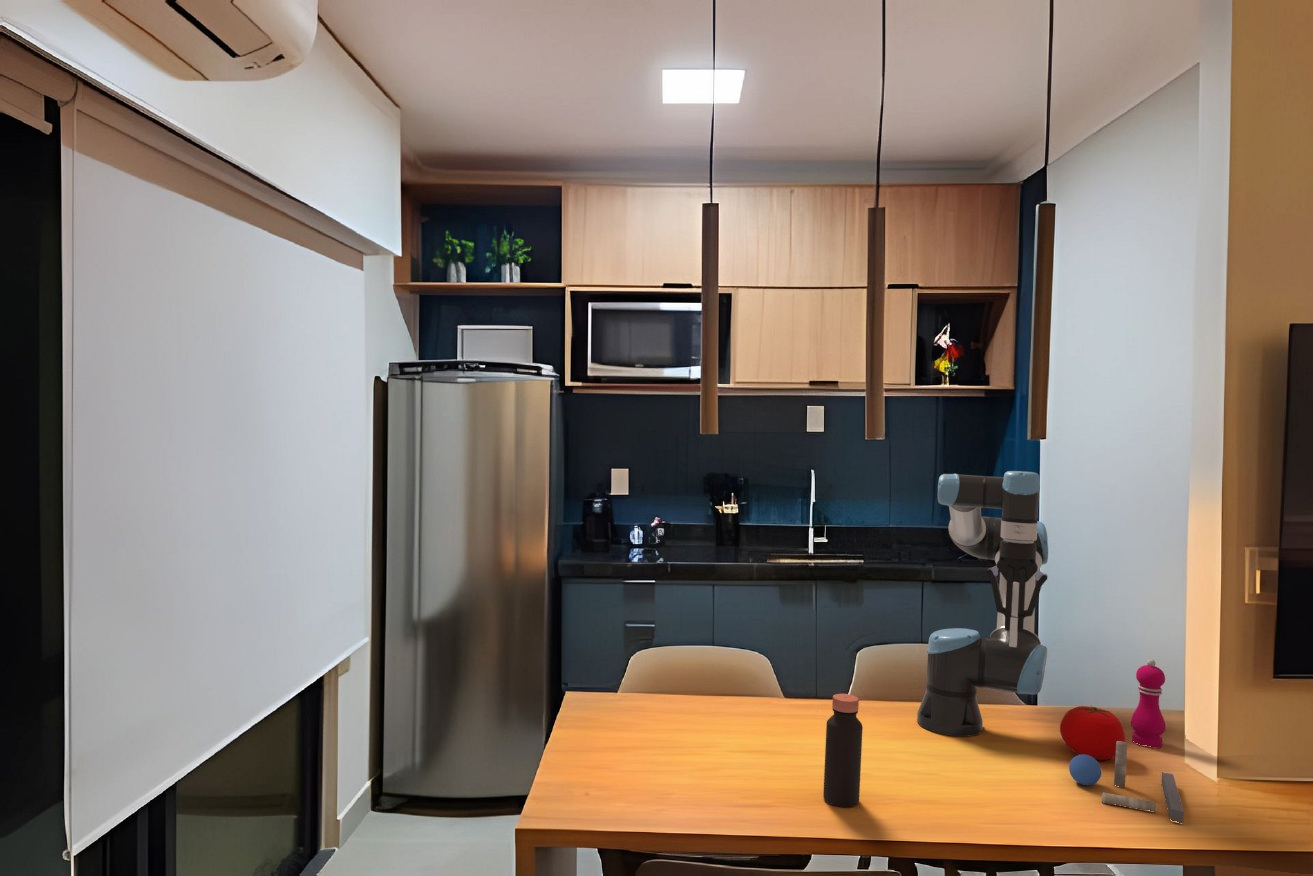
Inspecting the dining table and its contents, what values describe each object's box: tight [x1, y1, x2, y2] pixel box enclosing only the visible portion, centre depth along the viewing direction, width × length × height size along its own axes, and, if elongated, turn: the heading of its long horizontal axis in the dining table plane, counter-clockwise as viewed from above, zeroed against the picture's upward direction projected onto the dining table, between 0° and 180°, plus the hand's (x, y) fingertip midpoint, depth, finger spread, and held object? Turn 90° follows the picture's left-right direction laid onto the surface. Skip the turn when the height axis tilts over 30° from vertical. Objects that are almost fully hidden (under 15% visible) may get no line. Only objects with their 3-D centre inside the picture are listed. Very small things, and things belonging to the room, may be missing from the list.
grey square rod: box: [1160, 771, 1185, 824], centre depth 174 cm, size 2×20×2 cm, turn 154°
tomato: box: [1059, 705, 1126, 761], centre depth 198 cm, size 12×13×11 cm
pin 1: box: [1113, 741, 1128, 788], centre depth 182 cm, size 2×2×9 cm
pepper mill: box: [1130, 658, 1166, 748], centre depth 207 cm, size 7×7×20 cm
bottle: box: [822, 693, 864, 808], centre depth 169 cm, size 7×7×20 cm
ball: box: [1068, 754, 1102, 786], centre depth 182 cm, size 6×6×6 cm
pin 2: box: [1101, 791, 1156, 813], centre depth 172 cm, size 2×2×9 cm
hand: (1013, 645), depth 197 cm, fingers closed
